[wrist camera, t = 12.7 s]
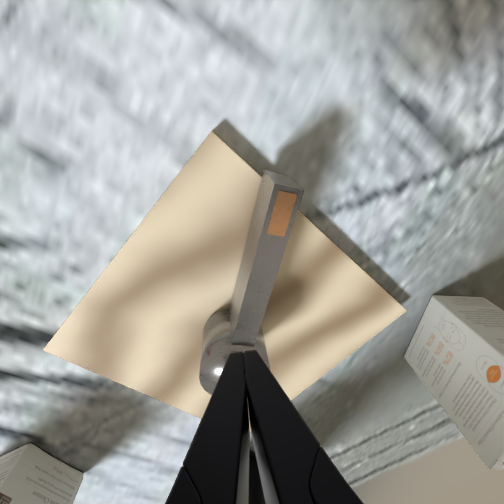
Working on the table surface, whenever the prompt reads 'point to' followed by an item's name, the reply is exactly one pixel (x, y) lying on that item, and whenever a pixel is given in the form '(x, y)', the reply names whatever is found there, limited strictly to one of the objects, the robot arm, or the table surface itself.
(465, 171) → the table surface
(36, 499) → the skincare box
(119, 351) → the base plate
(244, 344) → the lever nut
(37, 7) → the table surface
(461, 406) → the small box
